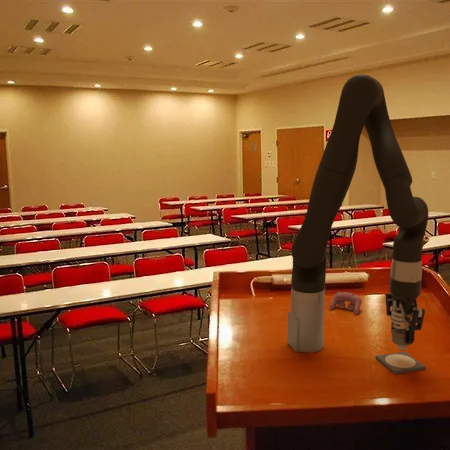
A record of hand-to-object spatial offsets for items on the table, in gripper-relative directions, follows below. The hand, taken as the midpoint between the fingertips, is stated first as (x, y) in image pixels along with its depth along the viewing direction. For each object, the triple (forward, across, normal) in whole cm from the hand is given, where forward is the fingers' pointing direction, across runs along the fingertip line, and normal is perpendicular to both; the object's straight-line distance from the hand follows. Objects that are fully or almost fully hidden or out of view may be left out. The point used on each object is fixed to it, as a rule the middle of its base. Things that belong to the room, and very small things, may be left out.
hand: (402, 338), depth 139 cm
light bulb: (+4, 0, 0) cm, 4 cm away
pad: (+7, 0, 0) cm, 7 cm away
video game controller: (+7, -38, +5) cm, 39 cm away
